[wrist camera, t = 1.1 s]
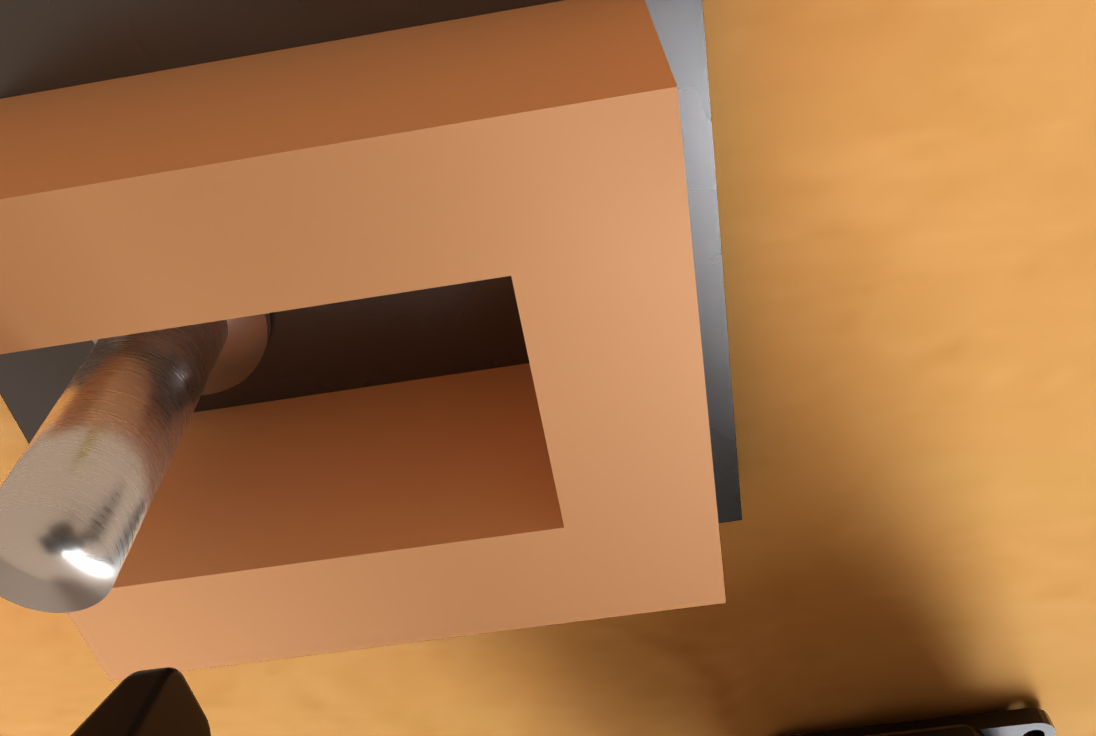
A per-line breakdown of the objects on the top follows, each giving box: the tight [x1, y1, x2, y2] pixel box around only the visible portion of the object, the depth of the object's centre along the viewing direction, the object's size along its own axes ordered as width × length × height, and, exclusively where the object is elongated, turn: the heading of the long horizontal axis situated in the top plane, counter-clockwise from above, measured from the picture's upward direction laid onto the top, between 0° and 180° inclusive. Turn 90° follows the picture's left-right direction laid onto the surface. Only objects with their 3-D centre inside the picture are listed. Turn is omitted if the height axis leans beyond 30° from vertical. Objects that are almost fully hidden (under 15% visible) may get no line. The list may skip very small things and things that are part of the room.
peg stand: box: [0, 0, 742, 613], centre depth 14 cm, size 12×12×6 cm
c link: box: [0, 0, 726, 681], centre depth 14 cm, size 7×9×4 cm
